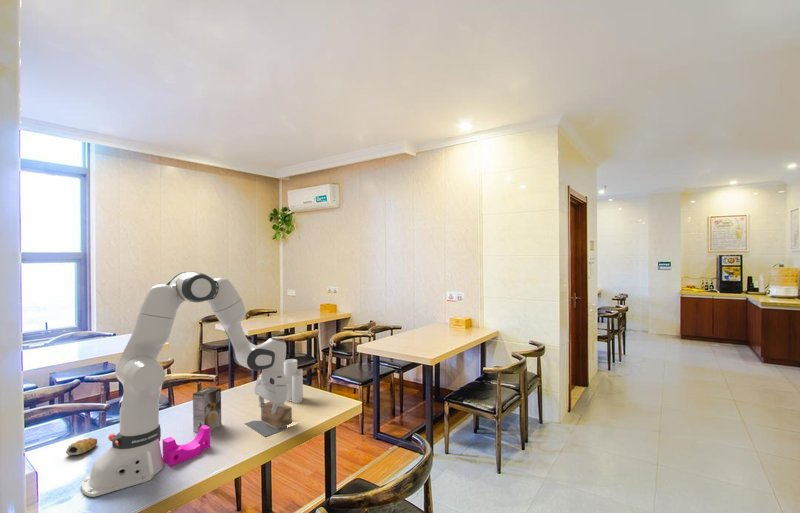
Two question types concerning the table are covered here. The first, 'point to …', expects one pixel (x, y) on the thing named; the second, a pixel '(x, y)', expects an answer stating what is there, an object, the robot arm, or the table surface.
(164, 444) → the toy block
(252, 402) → the table surface
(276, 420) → the wooden brick
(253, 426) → the mat
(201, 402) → the coffee box
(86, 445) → the pastry
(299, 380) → the three-tube pen holder
